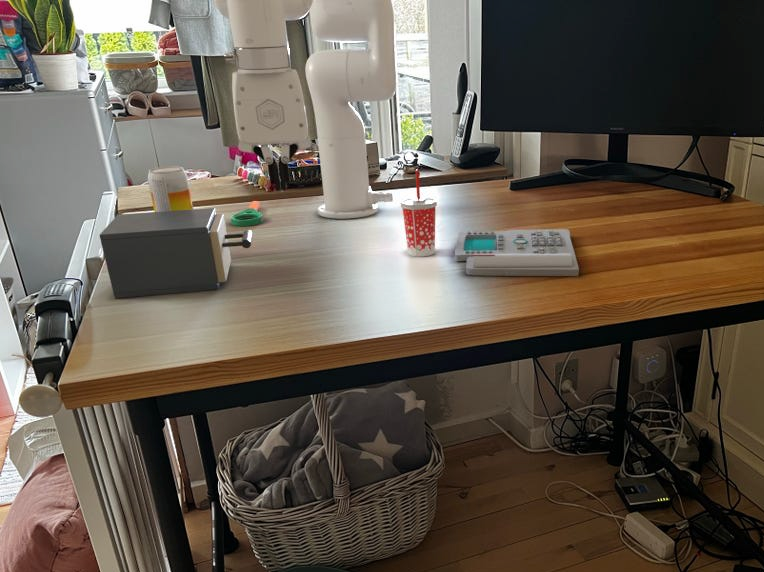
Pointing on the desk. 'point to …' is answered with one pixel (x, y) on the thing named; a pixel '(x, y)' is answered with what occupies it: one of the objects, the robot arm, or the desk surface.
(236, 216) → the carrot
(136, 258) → the cabinet
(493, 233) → the office telephone
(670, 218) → the desk surface
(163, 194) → the beer can
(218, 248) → the drawer
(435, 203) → the beverage cup
